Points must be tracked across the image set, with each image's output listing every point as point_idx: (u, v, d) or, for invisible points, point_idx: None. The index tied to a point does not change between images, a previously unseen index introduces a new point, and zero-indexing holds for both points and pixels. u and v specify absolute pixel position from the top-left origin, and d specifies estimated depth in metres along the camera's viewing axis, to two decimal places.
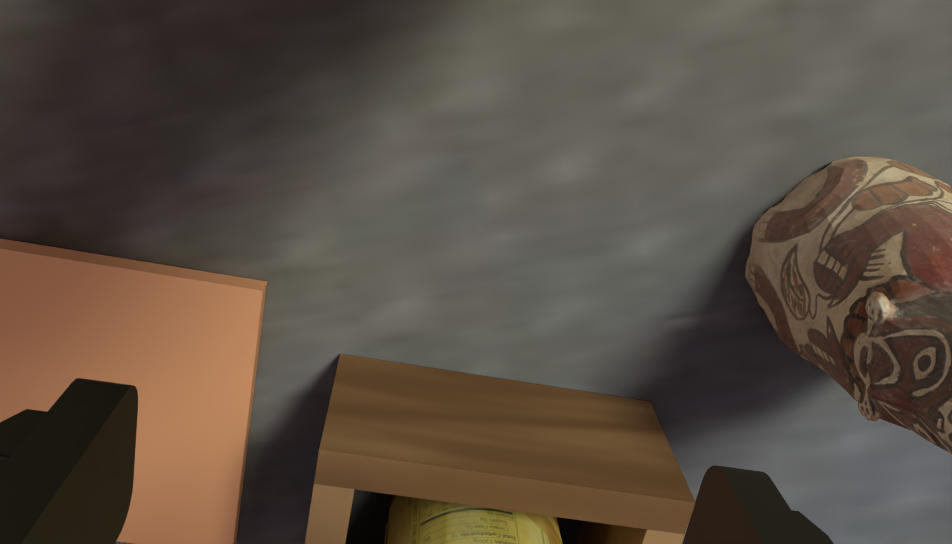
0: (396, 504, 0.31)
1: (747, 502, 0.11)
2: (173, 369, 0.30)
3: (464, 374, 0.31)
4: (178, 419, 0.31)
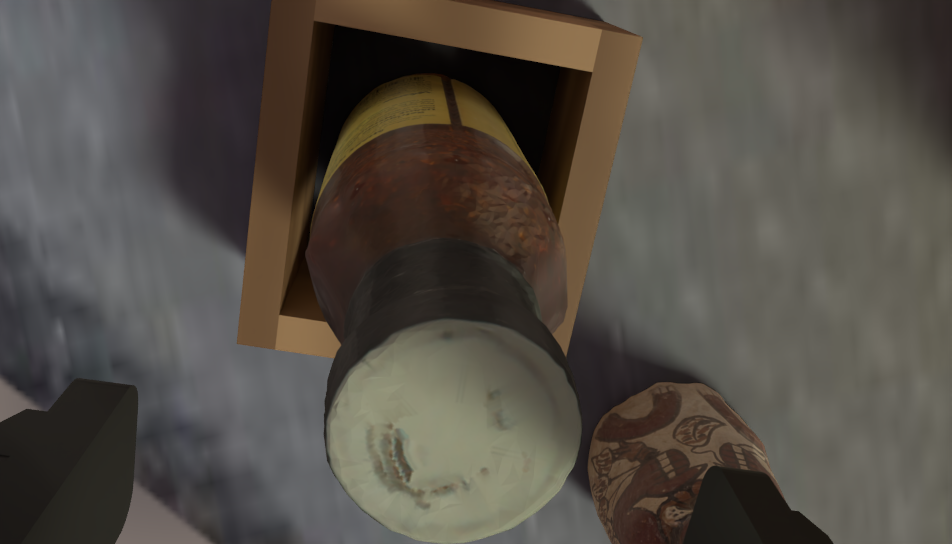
0: (471, 89, 0.29)
1: (747, 502, 0.11)
2: None
3: None
4: None
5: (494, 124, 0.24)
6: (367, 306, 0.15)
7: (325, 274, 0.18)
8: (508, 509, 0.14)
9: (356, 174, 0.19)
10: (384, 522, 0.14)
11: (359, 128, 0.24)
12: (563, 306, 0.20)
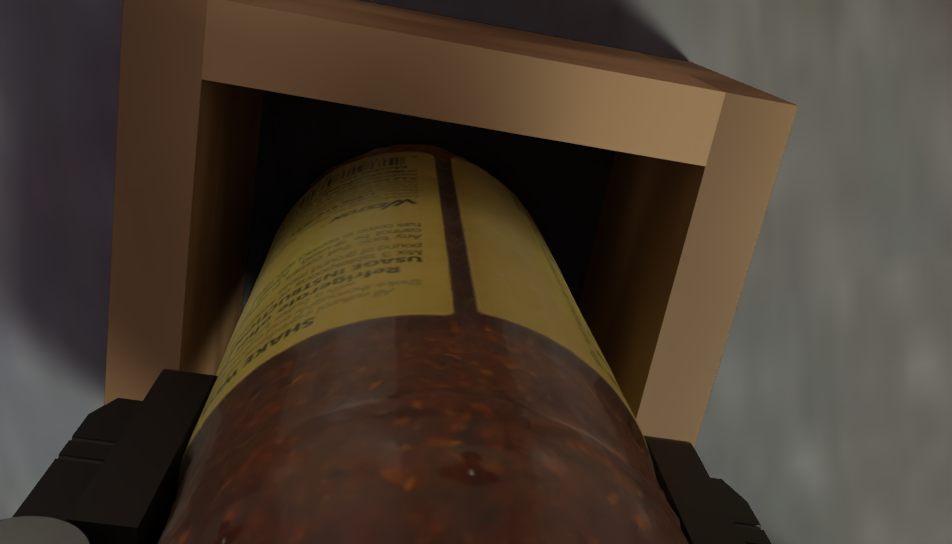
0: (483, 175, 0.18)
1: (667, 468, 0.12)
2: None
3: None
4: None
5: (534, 273, 0.13)
6: None
7: None
8: None
9: (230, 482, 0.08)
10: None
11: (281, 283, 0.13)
12: None
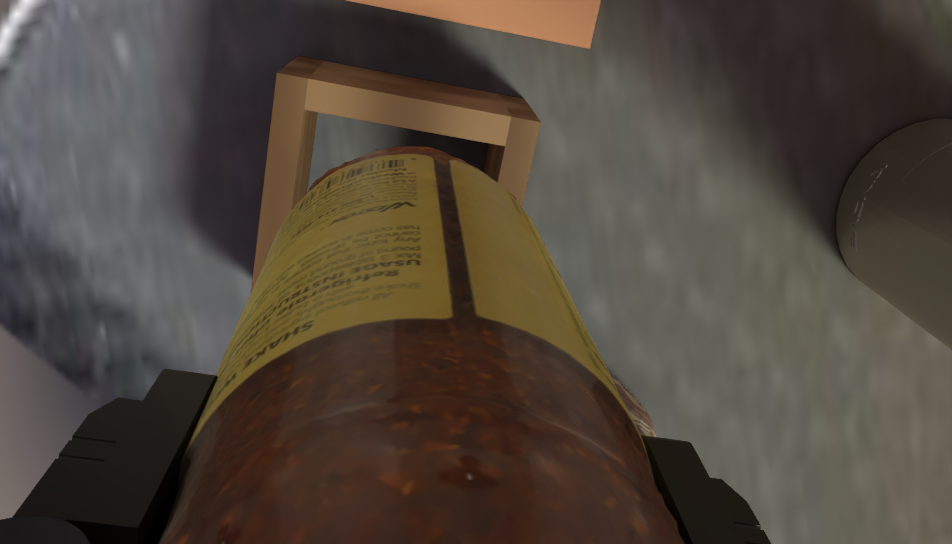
0: (482, 177, 0.18)
1: (666, 468, 0.12)
2: None
3: None
4: None
5: (532, 276, 0.13)
6: None
7: None
8: None
9: (229, 486, 0.08)
10: None
11: (280, 286, 0.13)
12: None
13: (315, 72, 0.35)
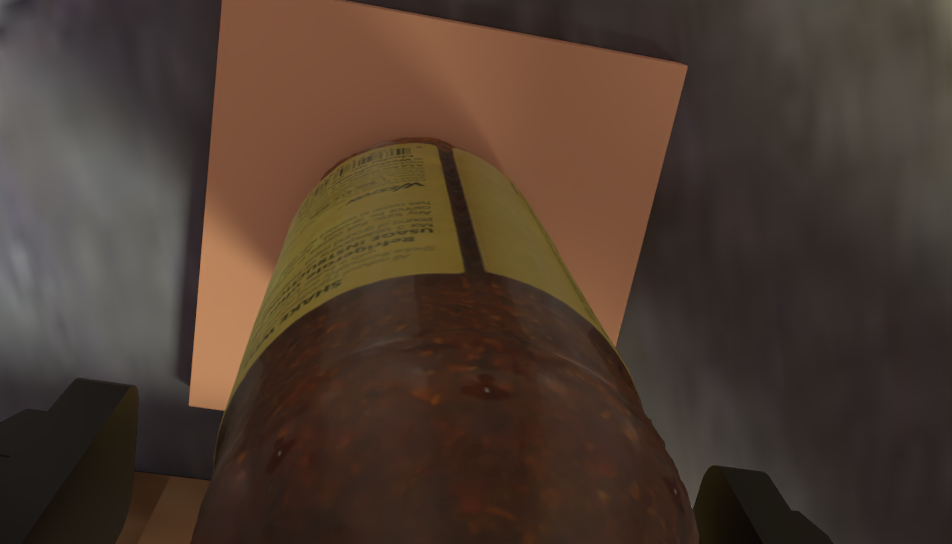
0: (483, 163, 0.19)
1: (747, 502, 0.11)
2: None
3: None
4: None
5: (532, 244, 0.14)
6: None
7: None
8: None
9: (281, 409, 0.09)
10: None
11: (305, 257, 0.14)
12: None
13: None
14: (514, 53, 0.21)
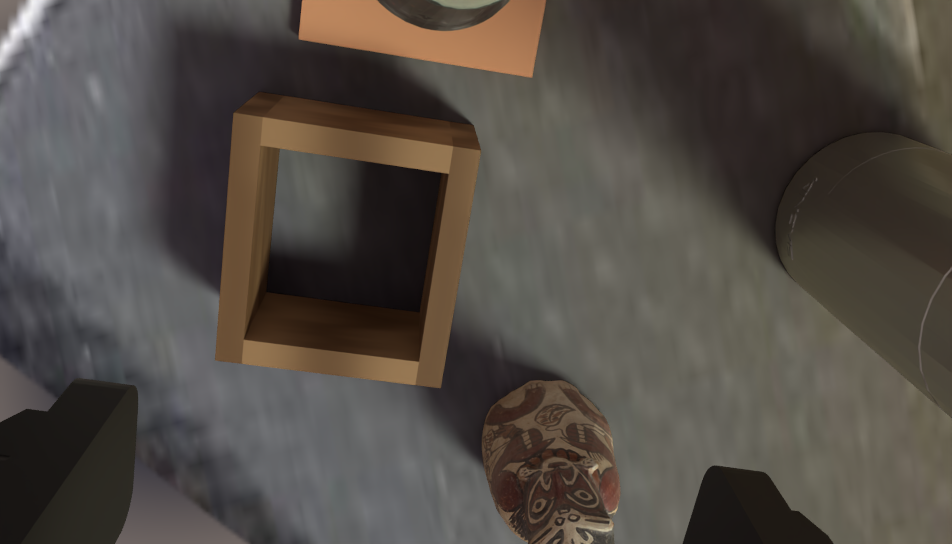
0: None
1: (747, 502, 0.11)
2: None
3: None
4: None
5: None
6: None
7: None
8: None
9: None
10: None
11: None
12: None
13: (271, 109, 0.38)
14: None
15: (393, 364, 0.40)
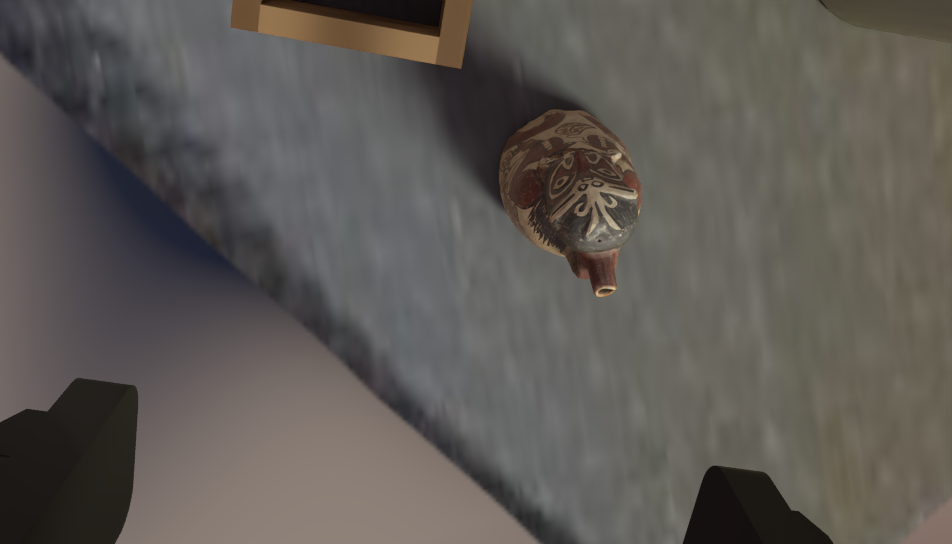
0: None
1: (747, 502, 0.11)
2: None
3: None
4: None
5: None
6: None
7: None
8: None
9: None
10: None
11: None
12: None
13: None
14: None
15: (413, 40, 0.39)
